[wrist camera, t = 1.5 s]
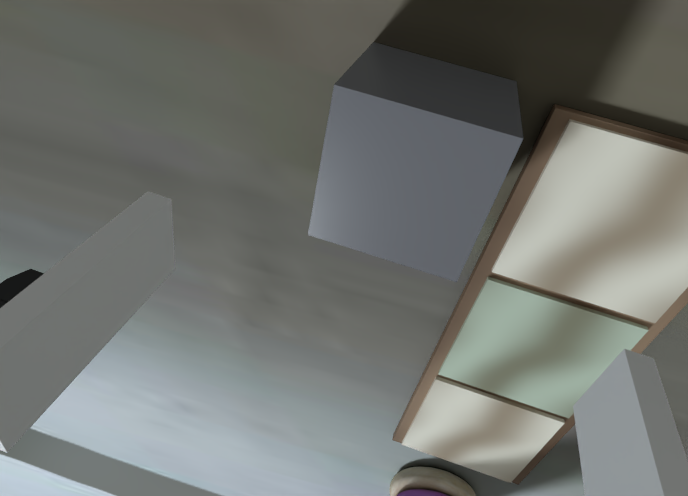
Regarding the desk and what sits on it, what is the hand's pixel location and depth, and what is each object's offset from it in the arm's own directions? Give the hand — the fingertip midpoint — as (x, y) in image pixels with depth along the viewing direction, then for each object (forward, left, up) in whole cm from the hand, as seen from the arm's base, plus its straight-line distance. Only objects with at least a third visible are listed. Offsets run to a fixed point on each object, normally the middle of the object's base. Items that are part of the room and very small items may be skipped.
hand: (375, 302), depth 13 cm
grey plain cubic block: (0, 0, -14) cm, 14 cm away
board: (+11, -12, -14) cm, 21 cm away
